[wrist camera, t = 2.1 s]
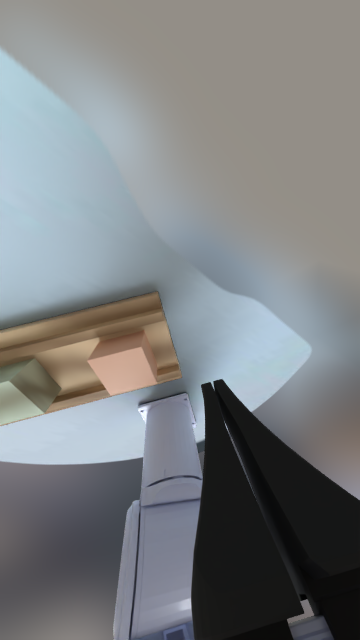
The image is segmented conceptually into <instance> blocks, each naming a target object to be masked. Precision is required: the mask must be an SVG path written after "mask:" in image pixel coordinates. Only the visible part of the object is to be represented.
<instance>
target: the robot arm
mask: <svg viewBox="0 0 360 640" xmlns="http://www.w3.org/2000/svg"><path fill="white" fill-rule="evenodd" d="M213 383H214V389H215V391H214V389H213V387H212V384H211V382H209V383H205V384H202V385H201V388H202V393H203V397H204V406H205V455H204V469H203V477H202V472H201V467H200V461H199V456H198V451H197V446H196V441H195V436H194V431H193V428H195V427H196V426H197V425H196V422H195V418H194V415H193V411H192V408H191V404H190V401H189V398H188V394H186V393H184V394H180V395H176V396H172V397H169V398H165V399H161V400H158V401H154V402H150V403H146V404H143V405H139V406H138V411H139V412H140V414H141V416H142V418H143V419H144V421H145V423H146V431H145V445H144V460H143V474H142V488H141V495H140V499H139V500H135V501H133V503H132V506H131V507H130V508H129V509H128V511H127V518H126V526H125V533H124V542H123V549H122V557H121V566H120V574H119V583H118V591H117V599H116V608H115V617H114V626H113V633H114V638H113V640H360V500H358V499H357V498H356V497H354V496H353V495H351V494H350V493H348V492H347V491H346V490H344V489H343V488H341V487H340V486H339V485H337V484H336V483H335V482H333V481H332V480H331V479H329V478H328V477H326V476H325V475H324V474H322V473H321V472H320V471H319V470H317V469H316V468H314V467H313V466H312V465H311V464H310V463H308V462H307V461H306V460H305V459H303V458H302V457H301V456H299V455H298V454H297V453H296V452H294V451H293V450H292V449H291V448H289V447H288V446H287V445H286V444H285V443H283V442H282V441H281V440H280V439H279V438H278V437H277V436H275V435H274V434H273V433H272V432H271V431H270V430H269V429H268V428H267V427H266V426H264V425H263V424H262V423H261V422H260V421H259V420H258V419H257V418H256V417H255V416H254V415H253V414H252V413H251V412H250V411H249V410H248V409H247V408H246V407H245V406H244V404H243V403H242V402H241V401H240V400H239V399H238V398H237V397H236V396H235V394H234V393H233V392H232V391H231V390H230V388H229V387H228V386H227V385H226V383H225V382H224V381H223V380H222V379H220V380H216V381H213ZM224 421H225V422H224ZM225 424H226V426H227V428H228V430H229V432H230V435H231V437H232V439H233V441H234V443H235V446H236V447H237V450H238V452H239V455H240V457H241V459H242V462H243V464H244V467H245V470H246V473H247V475H248V478H249V480H250V483H251V486H252V489H253V491H254V494H255V496H254V494H253V491H252V489H251V487H250V484H249V482H248V480H247V478H246V475H245V473H244V471H243V468H242V466H241V463H240V461H239V458H238V456H237V454H236V451H235V449H234V446H233V444H232V441H231V439H230V437H229V434H228V431H227V428H226V426H225ZM255 497H256V498H255ZM256 500H257V501H256ZM306 599H308V601H309V603H310V605H311V608H312V610H313V613H314V616H311V617H308V618H305V619H301V620H298V621H295V622H292V623H289V624H288V622H287V619H288V618H291V617H294V616H298V615H301V614H304V610H303V608H302V605H301V603H300V601H303V600H306Z"/></svg>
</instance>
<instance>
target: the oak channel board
mask: <svg viewBox="0 0 360 640" xmlns="http://www.w3.org/2000/svg"><path fill="white" fill-rule="evenodd" d="M143 330H144V331H145V333H146V336H147V339H148V341H149V344H150V346H151V349H152V352H153V354H154V357H155V359H156V362H157V384H161V383H164V382H168V381H172V380H176V379H179V378H182V374H181V370H180V366H179V363H178V359H177V356H176V352H175V349H174V346H173V342H172V339H171V335H170V332H169V328H168V325H167V321H166V318H165V315H164V311H163V308H162V304H161V301H160V297H159V294H158V291H157V292H152V293H148V294H144V295H140V296H136V297H132V298H128V299H124V300H120V301H116V302H112V303H108V304H104V305H100V306H96V307H92V308H88V309H84V310H80V311H76V312H72V313H68V314H64V315H60V316H56V317H52V318H48V319H44V320H40V321H35V322H31V323H27V324H23V325H19V326H15V327H11V328H7V329H3V330H0V426H2V425H6V424H10V423H14V422H17V421H21V420H25V419H29V418H33V417H36V416H40V415H44V414H48V413H51V412H55V411H59V410H63V409H66V408H70V407H74V406H78V405H81V404H85V403H89V402H93V401H97V400H100V399H104V398H108V397H112V396H115V395H112V396H110V394H109V393H108V391H107V390H106V388H105V387H104V385H103V384H102V382H101V381H100V379H99V378H98V376H97V375H96V373H95V372H94V370H93V369H92V368H91V366H90V365H89V363H88V362H87V360H88V358H89V357H90V355H91V354H92V352H93V351H94V349H95V347H96V346H97V344H98V343H99V342H100V341H104V340H108V339H112V338H116V337H120V336H124V335H128V334H132V333H136V332H139V331H143ZM157 384H154V385H157ZM150 386H153V385H150ZM146 387H149V386H146ZM142 388H145V387H142ZM142 388H138V389H142ZM138 389H135V390H138ZM131 391H134V390H131ZM127 392H130V391H127ZM127 392H123V393H127ZM123 393H120V394H123ZM116 395H119V394H116Z"/></svg>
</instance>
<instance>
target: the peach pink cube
mask: <svg viewBox="0 0 360 640" xmlns="http://www.w3.org/2000/svg"><path fill="white" fill-rule="evenodd" d="M87 362H88V363H89V365H90V366H91V368H92V369H93V370H94V372H95V373H96V375H97V376H98V378H99V379H100V381H101V382H102V384H103V385H104V387H105V388H106V390H107V391H108V393H109V394H110V396H112V395H116V394H120V393H123V392H127V391H131V390H135V389H138V388H142V387H146V386H150V385H154V384H157V362H156V359H155V357H154V354H153V352H152V349H151V346H150V344H149V341H148V339H147V336H146V333H145V331H144V330H143V331H139V332H136V333H132V334H128V335H124V336H120V337H116V338H112V339H108V340H104V341H100V342H99V343H98V344H97V346H96V347H95V349H94V351H93V352H92V354H91V355H90V357H89V358H88V360H87Z"/></svg>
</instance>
